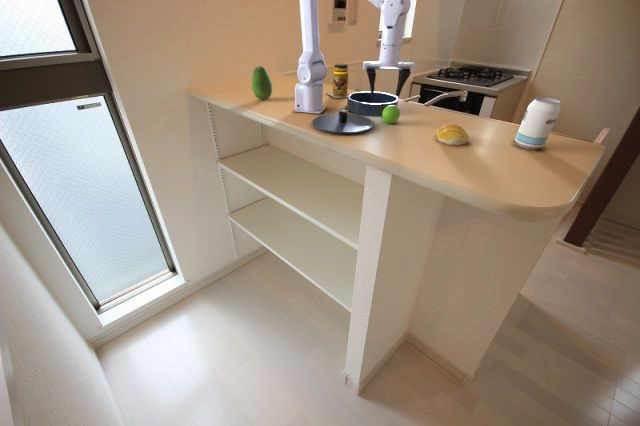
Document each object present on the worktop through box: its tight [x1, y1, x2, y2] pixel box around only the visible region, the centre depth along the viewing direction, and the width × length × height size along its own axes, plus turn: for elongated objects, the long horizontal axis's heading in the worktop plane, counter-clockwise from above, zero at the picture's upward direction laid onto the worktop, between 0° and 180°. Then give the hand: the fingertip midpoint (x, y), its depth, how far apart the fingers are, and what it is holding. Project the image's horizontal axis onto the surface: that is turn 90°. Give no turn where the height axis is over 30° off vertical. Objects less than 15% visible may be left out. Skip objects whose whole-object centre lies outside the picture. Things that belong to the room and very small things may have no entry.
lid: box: [312, 109, 374, 135], centre depth 92 cm, size 19×19×4 cm
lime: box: [381, 105, 401, 124], centre depth 95 cm, size 6×6×6 cm
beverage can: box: [514, 97, 562, 150], centre depth 78 cm, size 7×7×12 cm
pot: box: [346, 91, 399, 117], centre depth 109 cm, size 18×18×4 cm
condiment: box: [327, 63, 349, 99], centre depth 123 cm, size 7×8×12 cm
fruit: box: [251, 65, 273, 101], centre depth 115 cm, size 8×8×12 cm
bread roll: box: [436, 123, 470, 146], centre depth 83 cm, size 8×9×4 cm
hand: (384, 96), depth 91 cm, fingers open, 7 cm apart
